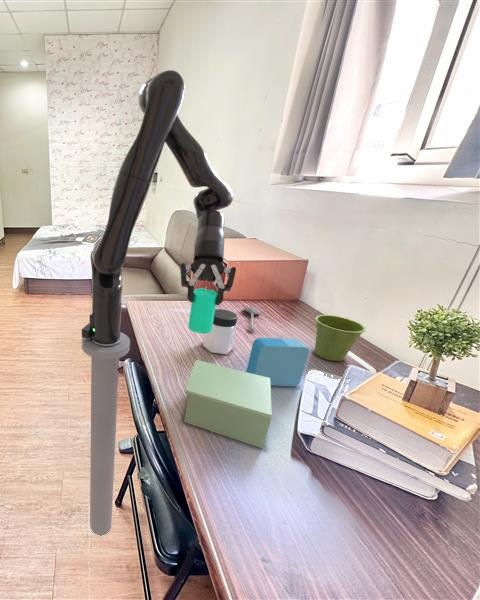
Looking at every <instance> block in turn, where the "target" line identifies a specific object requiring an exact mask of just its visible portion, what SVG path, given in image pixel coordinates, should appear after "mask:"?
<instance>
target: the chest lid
mask: <svg viewBox="0 0 480 600" xmlns="http://www.w3.org/2000/svg"><path fill="white" fill-rule="evenodd" d="M184 394H187V395H188V394H190V395H194V396H197V397H201V398H204V399H207V400H211V401H214V402H217V403H221V404H224V405H227V406H231V407H234V408H237V409H241V410H244V411H248V412H251V413H254V414H258V415H261V416H264V417H268V418H271V419H272V417H273V408H272V407H273V406H272V386H271V384H270V378H268V377H264V376H260V375H256V374H252V373H248V372H246V371H243V370H240V369H236V368H231V367H227V366H223V365H219V364H216V363H211V362H207V361H203V360H198V359H195V361H194V363H193V366H192V369H191V373H190V375H189V378H188V381H187V383H186V386H185V389H184Z"/></svg>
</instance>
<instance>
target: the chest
mask: <svg viewBox="0 0 480 600" xmlns="http://www.w3.org/2000/svg"><path fill="white" fill-rule="evenodd" d="M184 414H185V415H184V420H183V422H184V423H186V424H189V425H192V426H195V427H197V428H200V429H204V430H207V431H209V432H212V433H214V434H215V433H216V434H219V435H221V436H224V437H227V438H231V439H233V440H236V441H239V442H242V443H245V444H248V445H251V446H254V447H256V448H259V449H263V448H264V445H265V441H266V438H267V435H268V430H269V427H270V425H271V419H272V417H271V418H268V417H264V416H261V415H258V414H254V413H251V412H248V411H244V410H241V409H237V408H234V407H231V406H227V405H224V404H221V403H217V402H214V401H211V400H207V399H204V398H201V397H197V396H194V395H190V394H187V401H186V408H185V413H184Z"/></svg>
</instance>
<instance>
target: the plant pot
mask: <svg viewBox="0 0 480 600" xmlns="http://www.w3.org/2000/svg"><path fill="white" fill-rule="evenodd" d="M314 319H315V321H316V333H315V345H314V353H315V354H316V355H317V356H318V357H319V358H322V359H324V360H327V361H330V362H336V361H338V362H342V361H344V360H345V358H346V356H347V354H348V353H349V352H350V350H351V349H352V347H353V345H354V344H355V342H356V341H357V340H358V338H360V337H361V335H362V333H365V332H366V331H367V327H365V326H364V325H363V324H362V323H360V322H359V321H355V320H353V319H349V318H347V317H342V316H337V315H331V314H320V315H317V316H315V318H314Z"/></svg>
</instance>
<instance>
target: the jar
mask: <svg viewBox="0 0 480 600" xmlns="http://www.w3.org/2000/svg"><path fill="white" fill-rule="evenodd" d="M238 318H239V317H238V315H237V314H236V313H235V312H234V311H231V310H227V309H222V308H215V314H214V320H213V326H212V331H211V332H210V333H205V334H203V342H202V347H204V348H205V349H206V350H208V351H209V352H210V353H212V354H218V355H219V354H220V355H228V354H229V353H230V352H231V350H233V348H234V341H235V337H236V333H237V328H238Z"/></svg>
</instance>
